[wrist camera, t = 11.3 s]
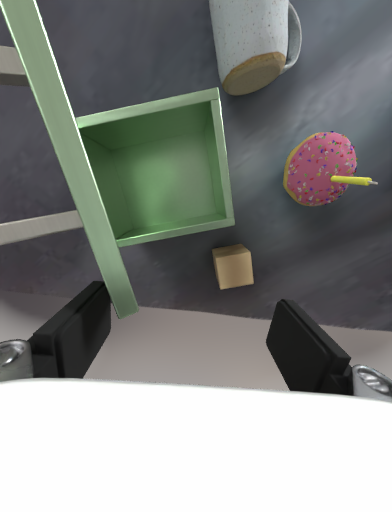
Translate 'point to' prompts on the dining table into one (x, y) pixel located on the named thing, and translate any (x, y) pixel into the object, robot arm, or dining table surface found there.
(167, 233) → the box
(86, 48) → the dining table surface
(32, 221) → the lid
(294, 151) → the cupcake
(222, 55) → the ceramic mug
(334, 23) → the dining table surface
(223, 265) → the block
